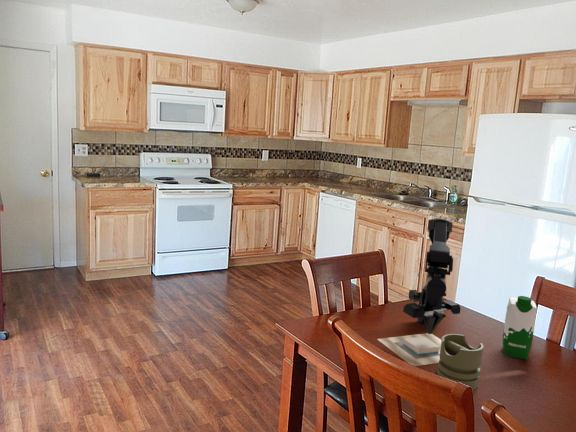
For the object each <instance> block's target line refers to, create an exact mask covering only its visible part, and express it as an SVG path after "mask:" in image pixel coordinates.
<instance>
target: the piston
mask: <svg viewBox="0 0 576 432" xmlns="http://www.w3.org/2000/svg"><path fill="white" fill-rule="evenodd" d="M441 340H442V341H441V349H440V359H439V363H437V364H438V365H437V372H436V373H437V376H438V375H439V376H442V377H445V378H448V379H450V380H453V381H456V382H461V383H463V384H465V385H468V386H470V387H472V389H473V390H472V391H475V390H476V389H478V384H479V379H480V372H481V366H482V360H483V352H484V344H483V343H482V342H480V343H479V346H478V347H477V348H476V347H473V346H472V345H470V344H469V343H468V341H467V340H466V335H464V334H458V333H447V334H444V335H442V337H441ZM439 376H438V377H439Z"/></svg>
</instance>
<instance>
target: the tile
mask: <svg viewBox="0 0 576 432" xmlns="http://www.w3.org/2000/svg"><path fill="white" fill-rule="evenodd" d="M403 345H405V346H406V347H407V348H409V349H410V350H412V351H413V352H414V353H416V354H417V355H424V354H431V353H438V352H439V346H438V345H436V344H435V343H433V342H432V341H430V340H429V339H427V338H425V337H415V338H407V339H404V343H403Z"/></svg>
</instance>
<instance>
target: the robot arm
mask: <svg viewBox="0 0 576 432" xmlns="http://www.w3.org/2000/svg"><path fill="white" fill-rule="evenodd" d="M426 231H427V232H428V238H429V240H430V242H431V244H430V245H429V249H428V251H426V255H425V266H424V272H425V273H426V279H425V280H426V282H425V284H424V285H423V286H422V289H421V291H417V289H410V290H408V299H409V300H410V301H411V300H412V302H413V303H412V302H411V303H405V304H403V309H402V310H403V311H402V312H403V313H405V314H406V315H408V316H410V317H411V318H413V319H417V320H415V323H419V324H420V325H425V328H426V329H425V330H426V333H428V334H433V332H434V331H435V330H436V328H437V327H438V325H439V324H440V323H441V322H442V320H443V319H444V318H446V317H447V315H446V314H444V311H450V313H451V314H453V315H458V314H459V315H460V314H461V311H462V307H461V305H460V304H459V303H457V302H455V301H453V300H451V299H448V300H447V299H446V300H445V299H444V297H447V281H446V279H447V276H451V273H453V269H454V258H453V254H450V253H451V247H450V246H448V245H447V241H448V240H449V238H450V235H452V233H453V222H451V221H450V220H449V219H447V218H440V217H439V218H438V217H436V218H434V219H433V218H432V219H428V221H427V230H426ZM417 302H418V303H417Z"/></svg>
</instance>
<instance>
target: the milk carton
mask: <svg viewBox="0 0 576 432" xmlns="http://www.w3.org/2000/svg"><path fill="white" fill-rule="evenodd" d="M537 311H538V307H537V304H536V302H535V301H534V300H532V298H531V297H529V296H524V295H519V296H518V297H517V298H516V297H512V296H509V298H508V303H507V305H506V313H505V318H504V326H503V332H502V349H503V355H505V356H506V357H510V358H517V359H521V360H525V361H526V360H527V361H528V359H529V356H530V351H531V348H532V342H533V336H534V332H535V326H536V319H537Z"/></svg>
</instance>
